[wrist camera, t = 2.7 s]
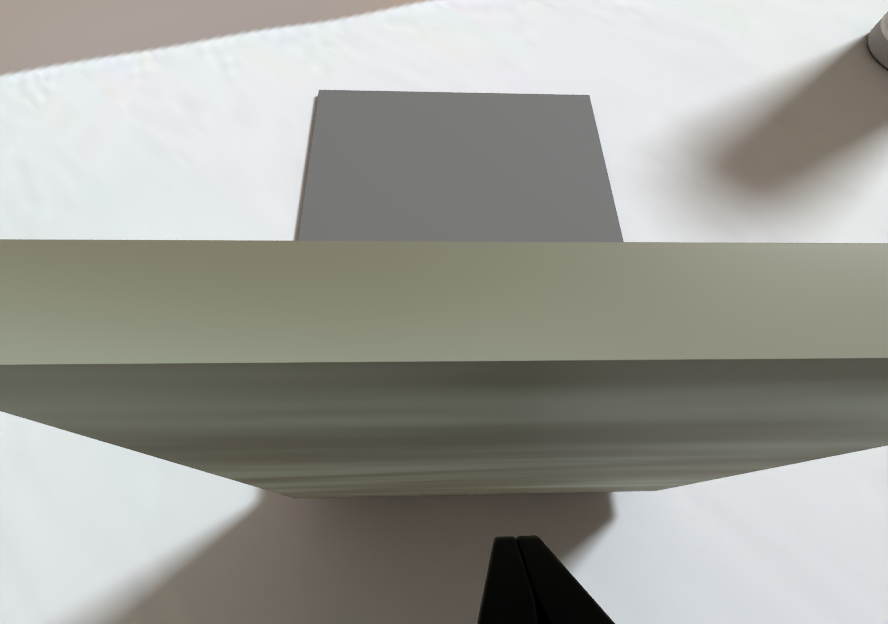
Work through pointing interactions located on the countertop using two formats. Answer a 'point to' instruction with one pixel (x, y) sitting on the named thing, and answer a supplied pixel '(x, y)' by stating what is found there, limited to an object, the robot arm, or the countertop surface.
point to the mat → (456, 169)
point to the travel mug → (880, 41)
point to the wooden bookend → (451, 359)
